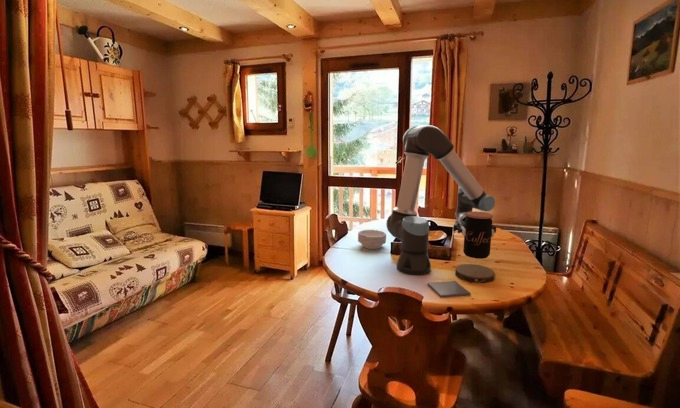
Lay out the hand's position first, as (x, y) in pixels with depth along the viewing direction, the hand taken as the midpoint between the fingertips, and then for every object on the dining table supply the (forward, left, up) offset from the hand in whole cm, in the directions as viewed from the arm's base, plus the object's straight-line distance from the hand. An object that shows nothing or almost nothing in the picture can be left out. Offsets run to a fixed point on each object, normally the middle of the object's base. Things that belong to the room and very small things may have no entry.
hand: (478, 233), depth 150 cm
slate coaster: (-18, -11, -19) cm, 28 cm away
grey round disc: (0, +1, -20) cm, 20 cm away
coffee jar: (0, +1, -10) cm, 10 cm away
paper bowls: (-33, +49, -20) cm, 62 cm away
